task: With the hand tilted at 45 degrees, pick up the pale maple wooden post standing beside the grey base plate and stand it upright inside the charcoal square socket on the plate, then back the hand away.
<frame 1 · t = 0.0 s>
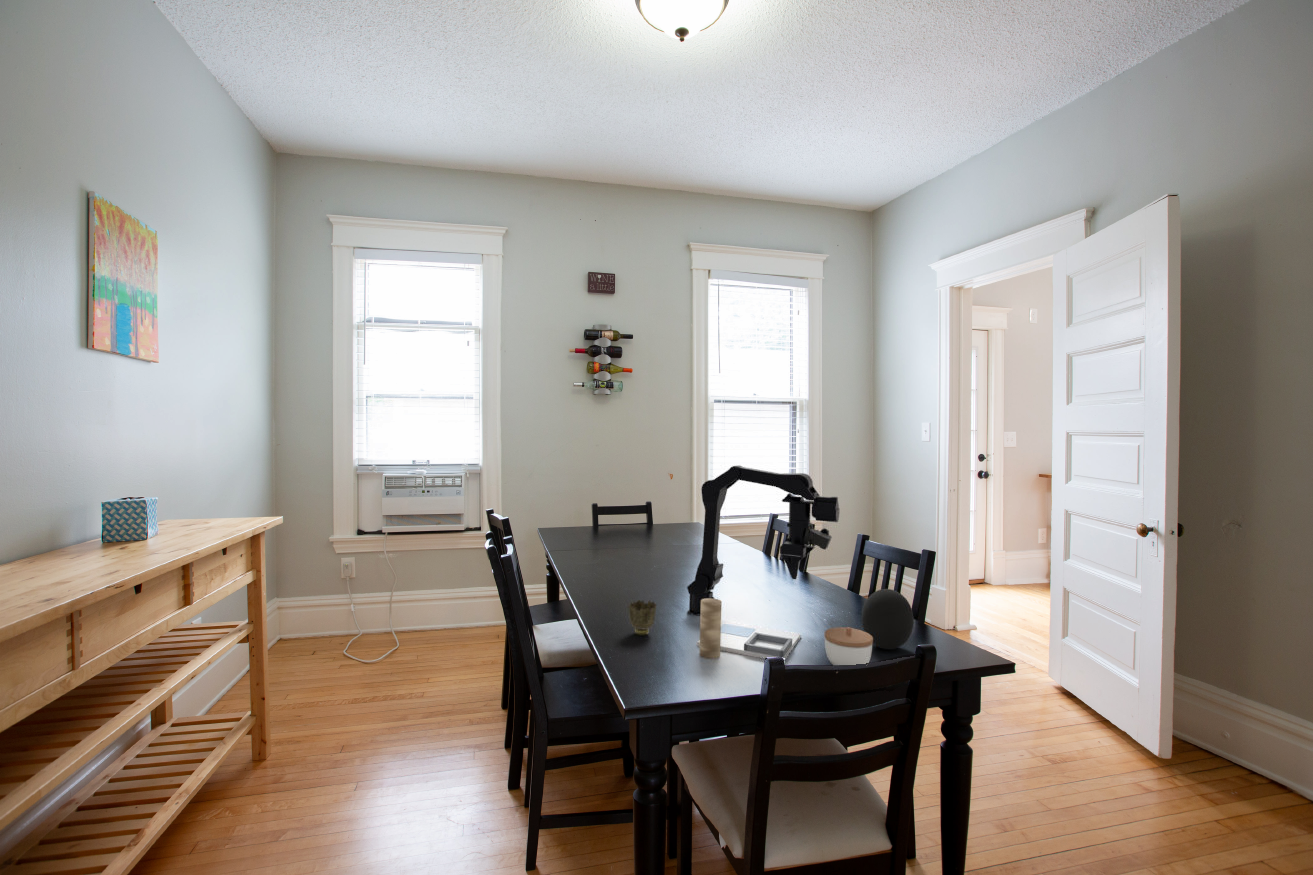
hand: (798, 575, 167), 15 cm above the table, tool pointing down, fingers open, 9 cm apart
maple post: (709, 654, 146), on the table
lidded jar: (847, 668, 140), on the table
decorative egg: (886, 648, 154), on the table
base plate: (750, 641, 156), on the table
cup: (641, 634, 160), on the table
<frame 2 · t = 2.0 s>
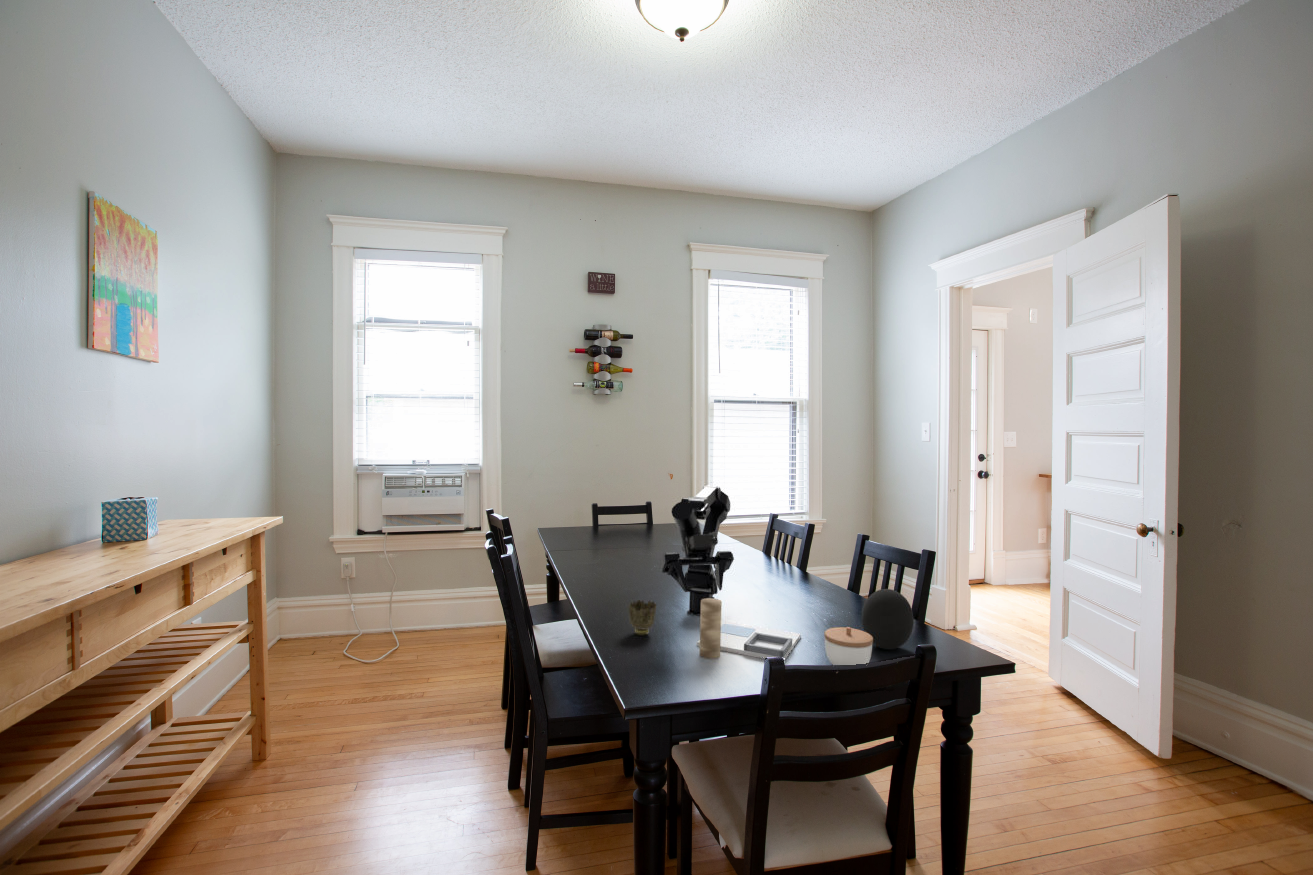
hand: (703, 590, 154), 13 cm above the table, tool tilted 45°, fingers open, 9 cm apart
nothing on the table moved.
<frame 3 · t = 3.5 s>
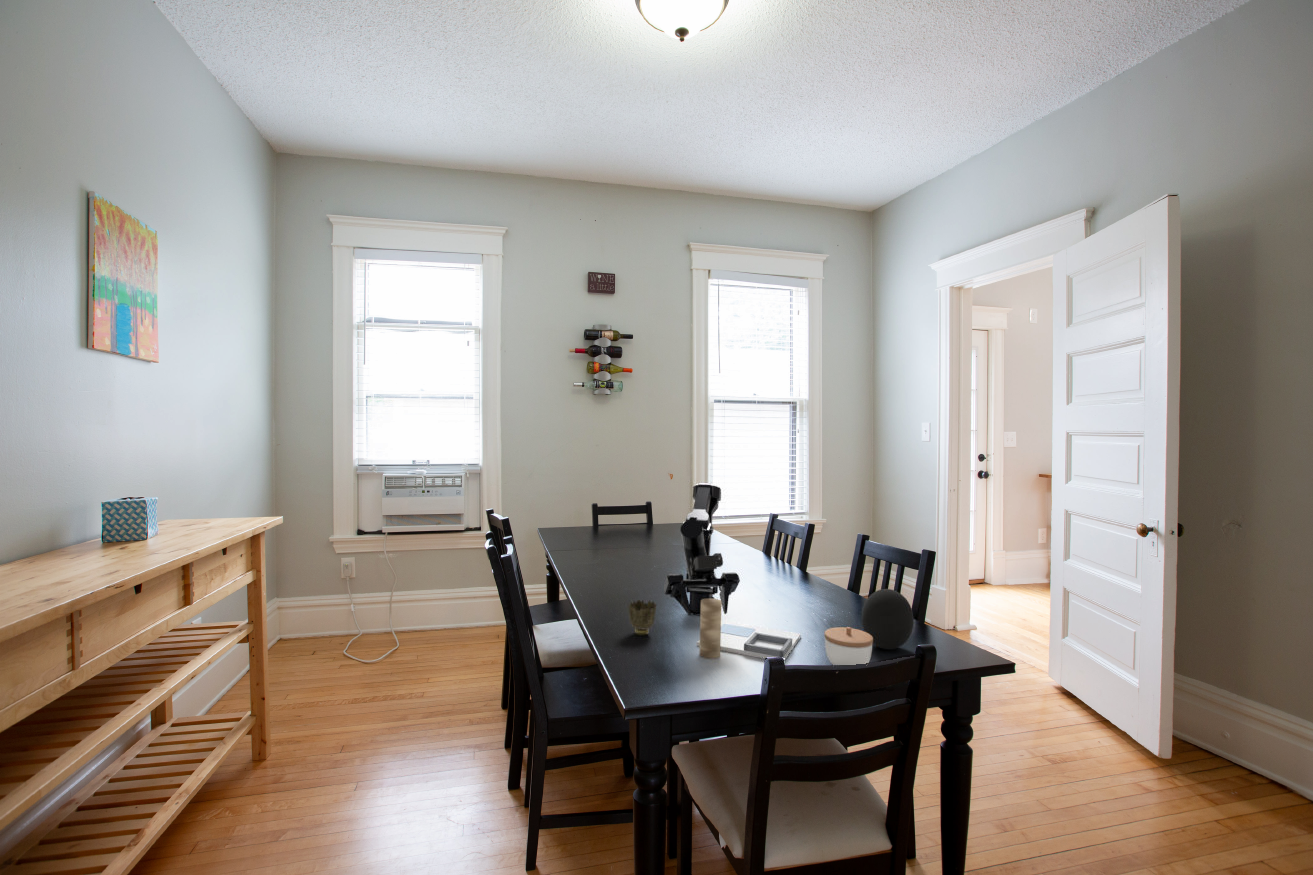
hand: (708, 613, 148), 9 cm above the table, tool tilted 45°, fingers open, 9 cm apart
nothing on the table moved.
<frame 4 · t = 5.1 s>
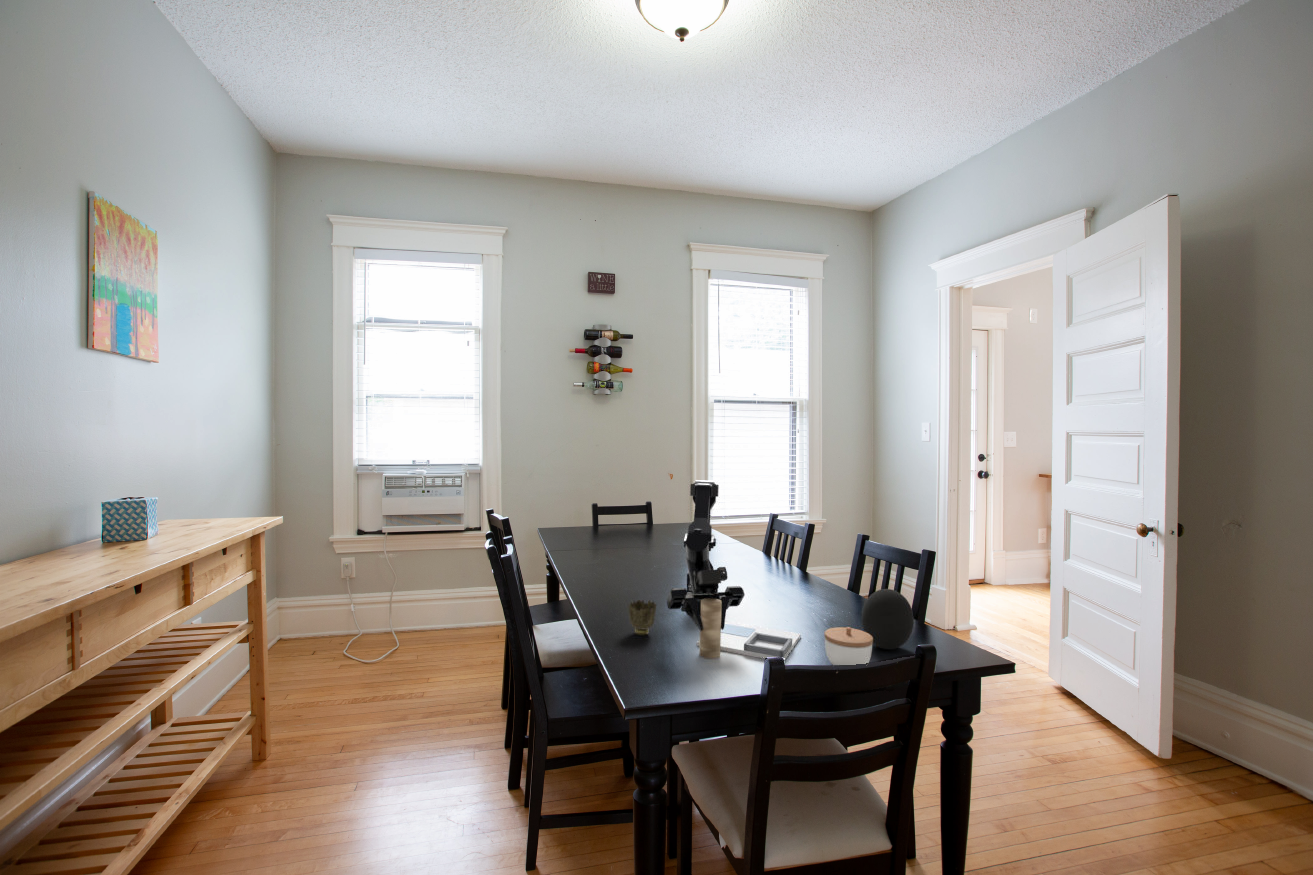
hand: (712, 629, 145), 7 cm above the table, tool tilted 45°, fingers closed on maple post, 5 cm apart
maple post: (709, 654, 146), on the table, touching gripper
everything else where it was.
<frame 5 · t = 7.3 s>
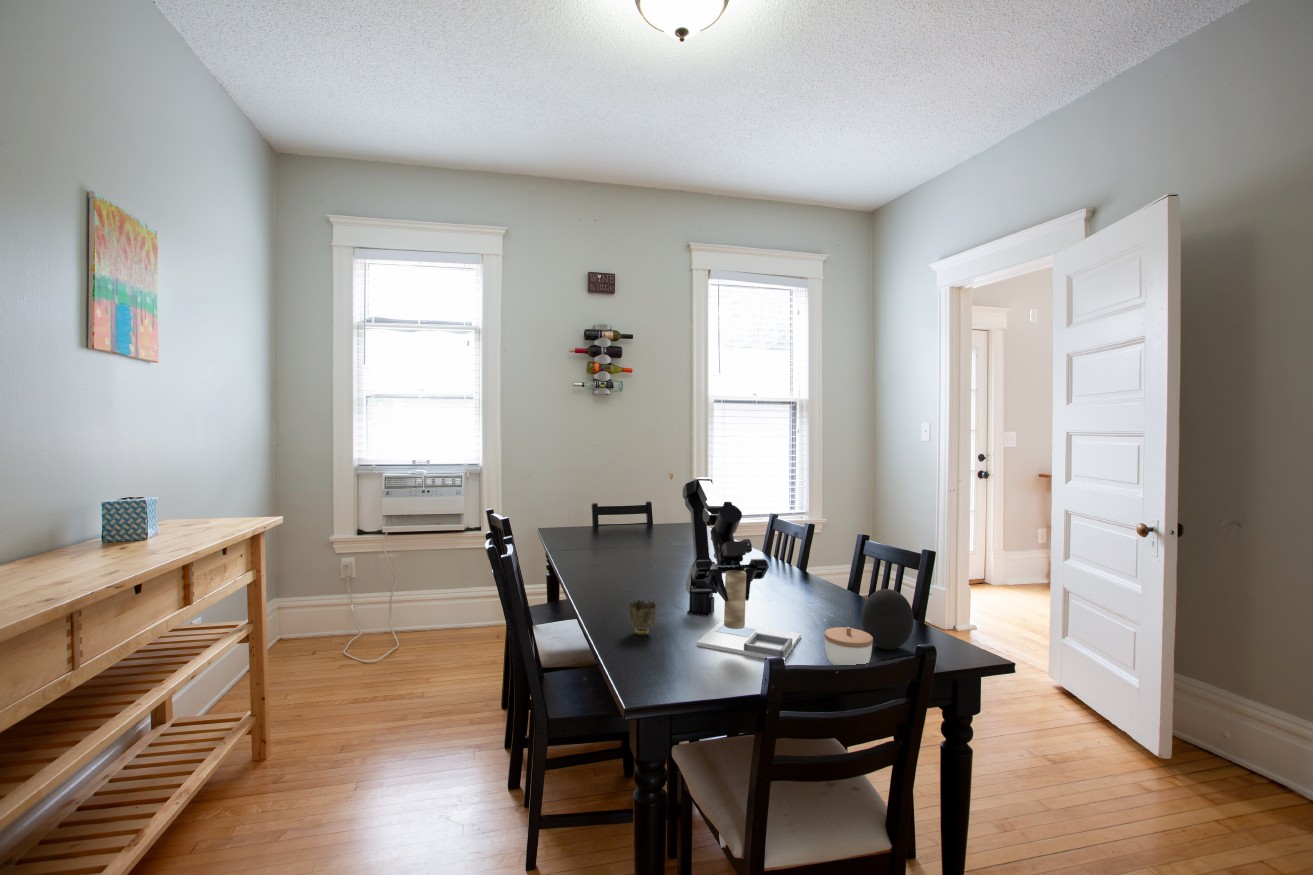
hand: (737, 600, 146), 13 cm above the table, tool tilted 45°, fingers closed on maple post, 5 cm apart
maple post: (734, 625, 148), point 7 cm above the table, touching gripper
everything else where it was.
when the fingers open (9 cm above the table, at t = 9.5 s): maple post drops 1 cm, resting on base plate.
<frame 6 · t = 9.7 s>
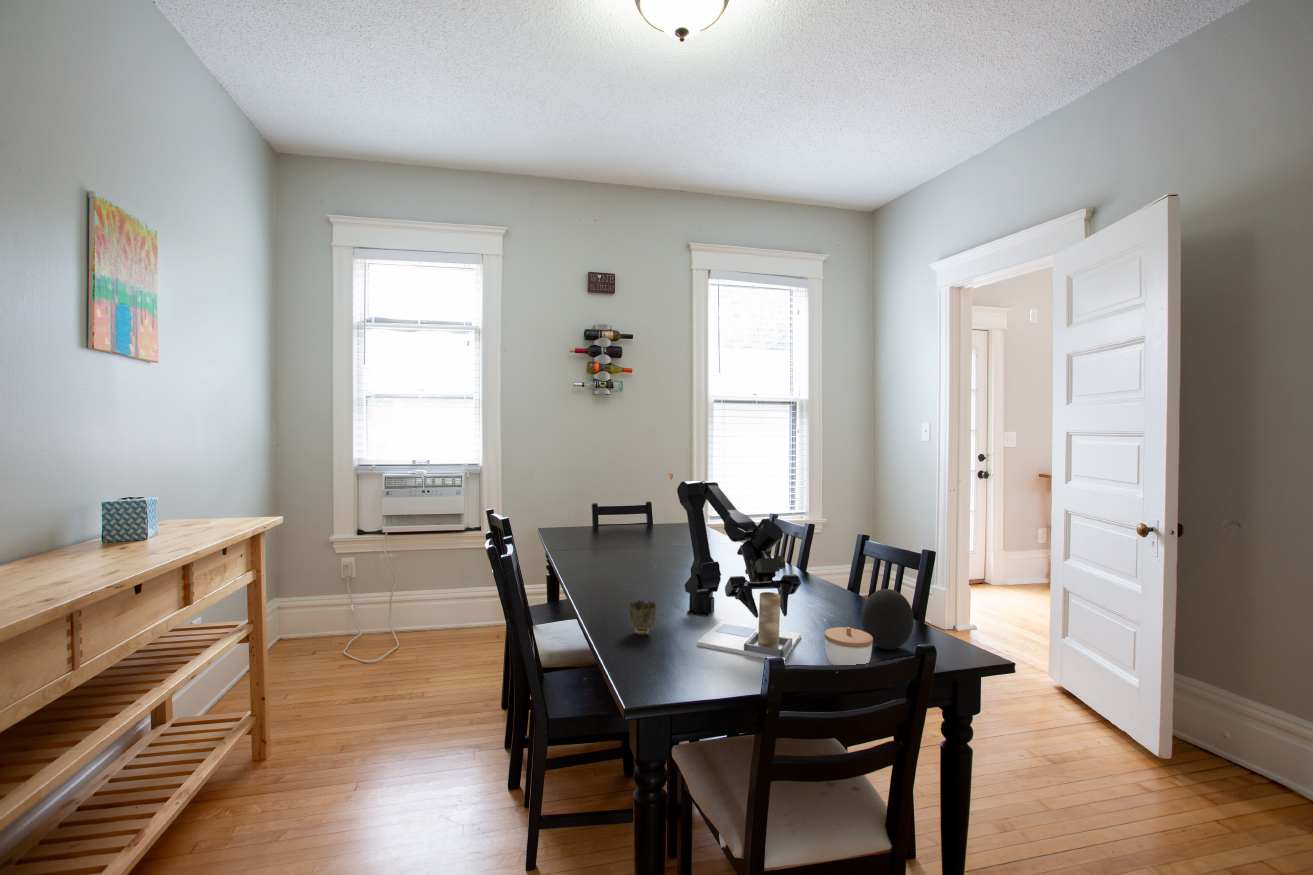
hand: (771, 616, 148), 9 cm above the table, tool tilted 45°, fingers open, 7 cm apart
maple post: (768, 647, 149), point 1 cm above the table, touching base plate
everything else where it was.
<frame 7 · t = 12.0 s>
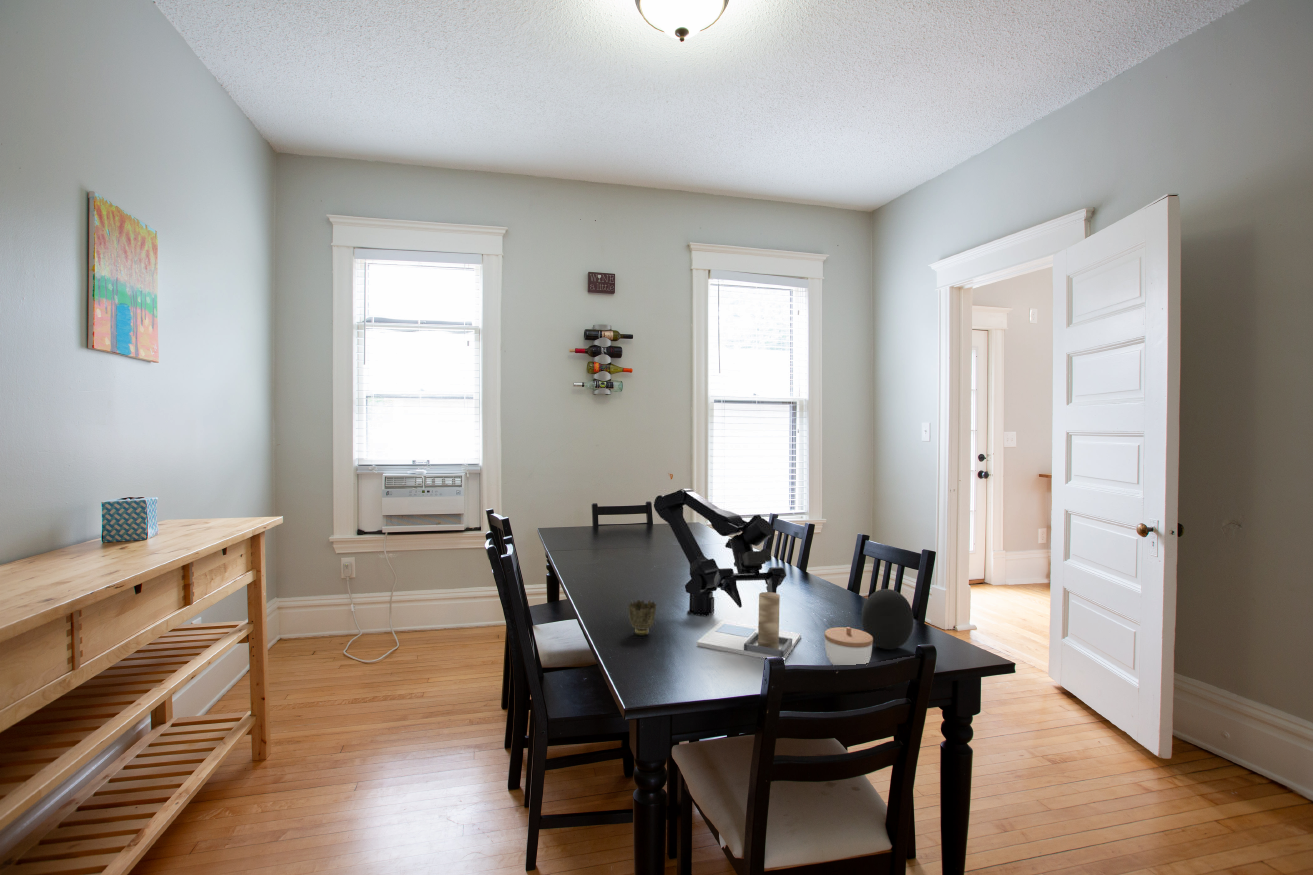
hand: (757, 606, 156), 9 cm above the table, tool tilted 45°, fingers open, 9 cm apart
nothing on the table moved.
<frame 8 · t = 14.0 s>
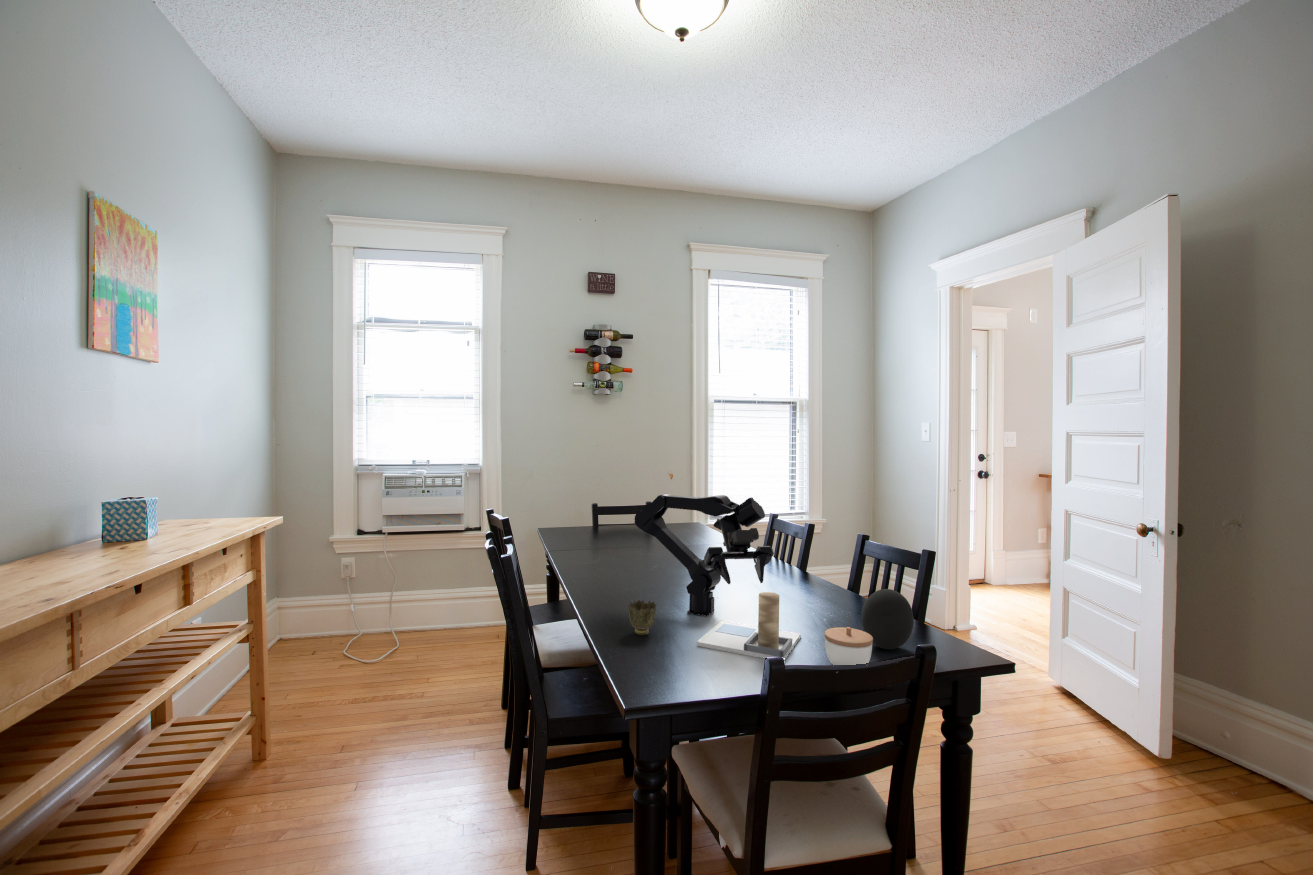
hand: (745, 582, 162), 14 cm above the table, tool tilted 45°, fingers open, 9 cm apart
nothing on the table moved.
at the end: maple post 0.0 cm from the target spot on the base plate, point 1.0 cm above the base plate's base; maple post tilted 1°; the gripper is holding nothing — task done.
